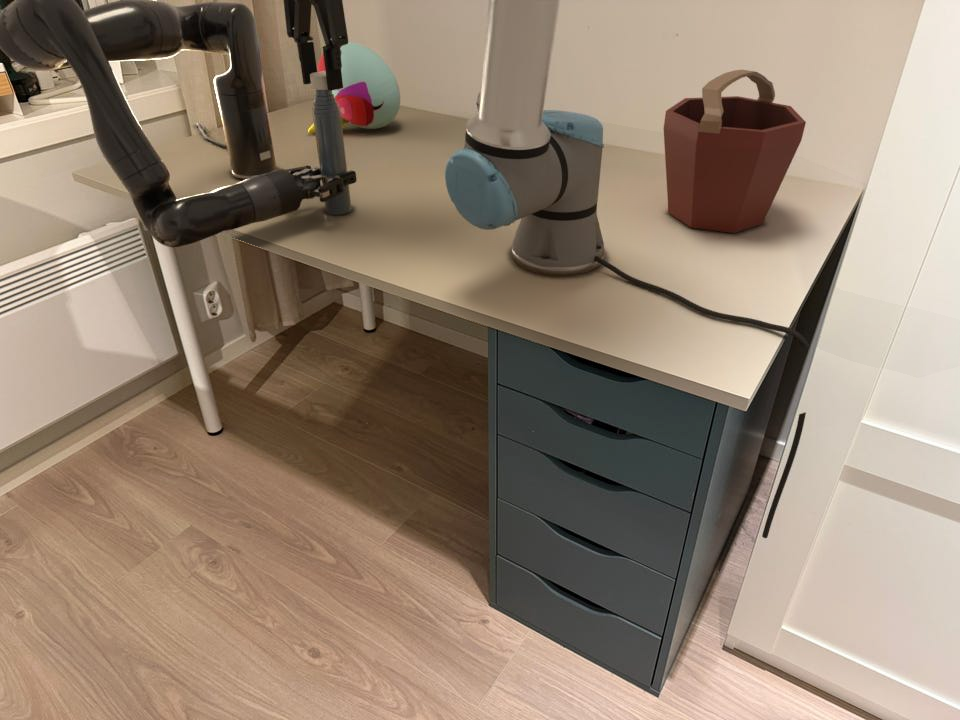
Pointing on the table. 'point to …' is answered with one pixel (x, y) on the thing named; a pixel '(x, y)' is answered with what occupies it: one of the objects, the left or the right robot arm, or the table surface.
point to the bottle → (330, 146)
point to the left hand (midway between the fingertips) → (345, 172)
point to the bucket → (728, 154)
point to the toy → (365, 88)
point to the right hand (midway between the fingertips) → (323, 85)
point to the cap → (318, 80)
